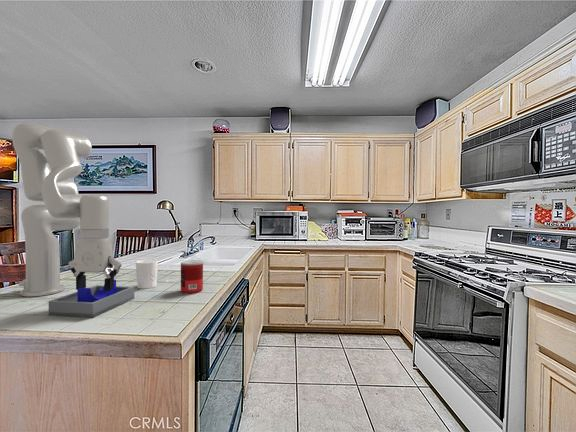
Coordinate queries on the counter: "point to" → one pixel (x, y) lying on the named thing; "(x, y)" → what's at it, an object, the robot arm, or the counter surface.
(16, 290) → the counter surface
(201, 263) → the canned food
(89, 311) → the tray
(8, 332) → the counter surface
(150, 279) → the white cup
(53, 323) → the counter surface
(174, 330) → the counter surface
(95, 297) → the blue u-shaped block
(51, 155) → the robot arm
